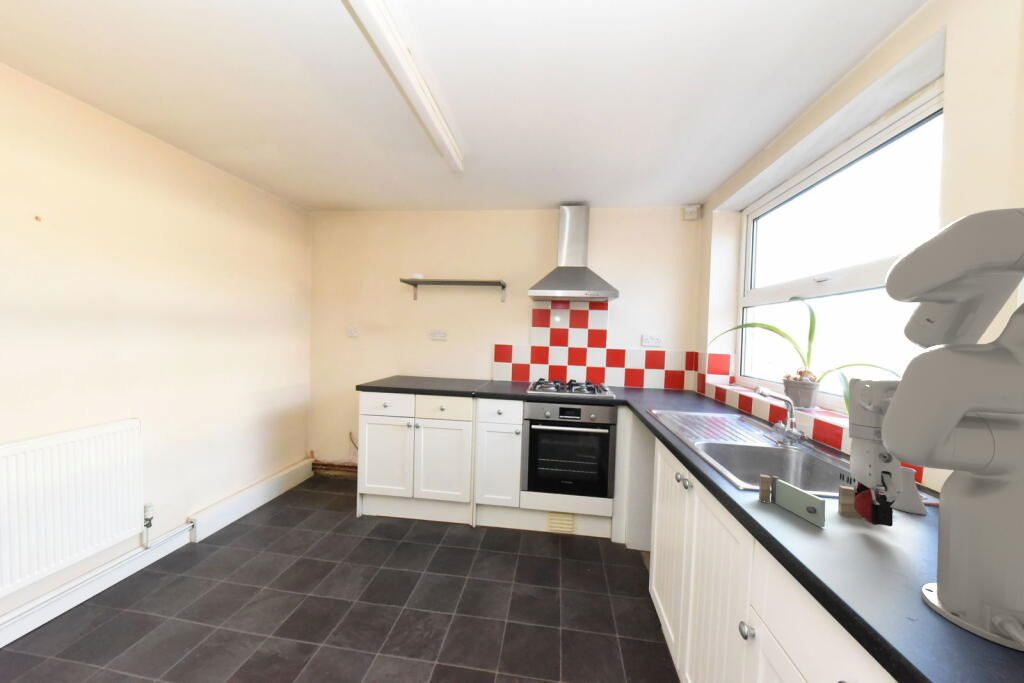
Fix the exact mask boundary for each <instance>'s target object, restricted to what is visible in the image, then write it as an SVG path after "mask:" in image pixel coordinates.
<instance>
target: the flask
mask: <svg viewBox="0 0 1024 683" xmlns="http://www.w3.org/2000/svg"><path fill="white" fill-rule="evenodd" d="M901 471H902V493H900V494H898V498H897V499H896V500H895V502H894V507H893V509H895V510H899V511H902V512H905V513H908V514H909V513H910V514H916V515H923V516H925V515H926V514H928V510H927V508H926V505H925V502H924V501H923V499H922V497H921V494H920V492H919V489H918V486H917V484H916V480H915V474H917V470H915V469H914V468H910V467H905V466H901Z"/></svg>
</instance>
